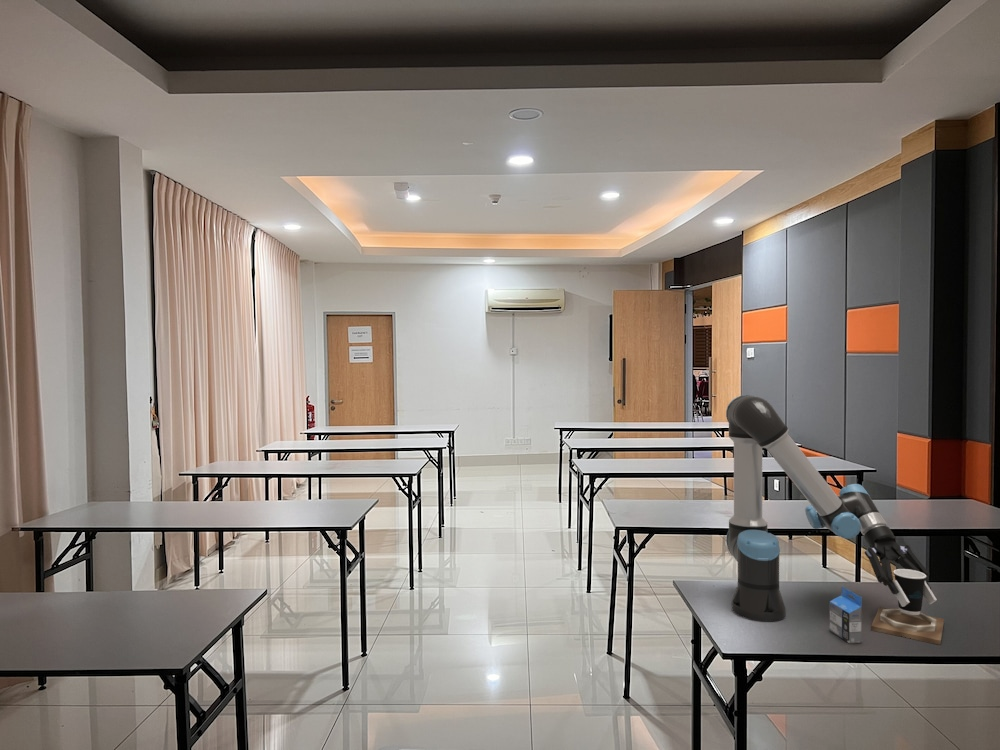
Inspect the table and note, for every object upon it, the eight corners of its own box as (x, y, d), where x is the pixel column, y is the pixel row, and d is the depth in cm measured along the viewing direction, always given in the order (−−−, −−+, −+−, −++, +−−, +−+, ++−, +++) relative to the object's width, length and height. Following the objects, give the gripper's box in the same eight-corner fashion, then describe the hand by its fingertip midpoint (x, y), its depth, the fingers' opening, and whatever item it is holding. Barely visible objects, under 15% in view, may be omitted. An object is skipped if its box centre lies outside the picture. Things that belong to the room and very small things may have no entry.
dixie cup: (900, 604, 187) (900, 567, 187) (931, 612, 180) (931, 573, 180) (888, 611, 182) (888, 572, 182) (919, 619, 176) (919, 579, 175)
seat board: (871, 630, 179) (871, 620, 179) (879, 610, 193) (879, 602, 193) (940, 644, 169) (940, 635, 169) (944, 623, 184) (944, 614, 183)
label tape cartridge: (828, 630, 179) (828, 586, 179) (841, 629, 179) (841, 586, 179) (848, 644, 170) (848, 597, 170) (862, 643, 171) (862, 597, 170)
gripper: (899, 535, 198) (943, 606, 182) (839, 539, 194) (879, 612, 179) (912, 522, 193) (960, 594, 177) (851, 526, 189) (893, 600, 173)
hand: (919, 603), depth 178 cm, fingers closed on dixie cup, 8 cm apart
